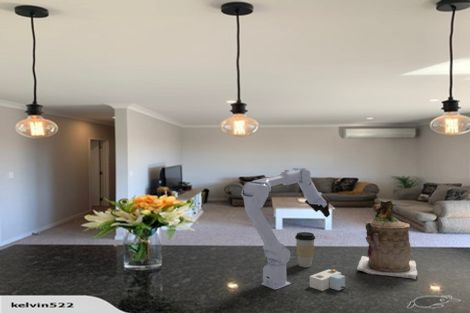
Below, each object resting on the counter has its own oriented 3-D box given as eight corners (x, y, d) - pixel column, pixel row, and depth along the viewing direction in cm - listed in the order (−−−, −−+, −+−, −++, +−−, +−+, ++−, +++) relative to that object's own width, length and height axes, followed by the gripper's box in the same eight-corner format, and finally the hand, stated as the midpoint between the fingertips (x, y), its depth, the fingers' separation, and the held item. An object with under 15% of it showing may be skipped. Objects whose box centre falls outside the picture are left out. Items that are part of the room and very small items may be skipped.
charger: (324, 286, 146) (324, 274, 146) (331, 283, 149) (331, 272, 149) (345, 292, 139) (345, 280, 139) (351, 289, 141) (351, 278, 141)
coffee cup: (292, 266, 172) (292, 234, 171) (298, 261, 180) (298, 231, 180) (312, 269, 167) (312, 236, 167) (317, 264, 175) (317, 232, 175)
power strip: (309, 286, 146) (309, 274, 146) (335, 276, 158) (335, 265, 158) (322, 290, 142) (322, 278, 141) (348, 280, 153) (348, 268, 153)
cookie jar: (416, 264, 174) (416, 197, 173) (418, 281, 152) (417, 204, 151) (361, 258, 184) (361, 195, 184) (355, 273, 162) (355, 201, 161)
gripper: (326, 189, 154) (339, 212, 159) (307, 181, 167) (319, 202, 172) (314, 199, 153) (327, 222, 157) (295, 190, 166) (308, 212, 171)
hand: (322, 213), depth 165 cm, fingers open, 7 cm apart
